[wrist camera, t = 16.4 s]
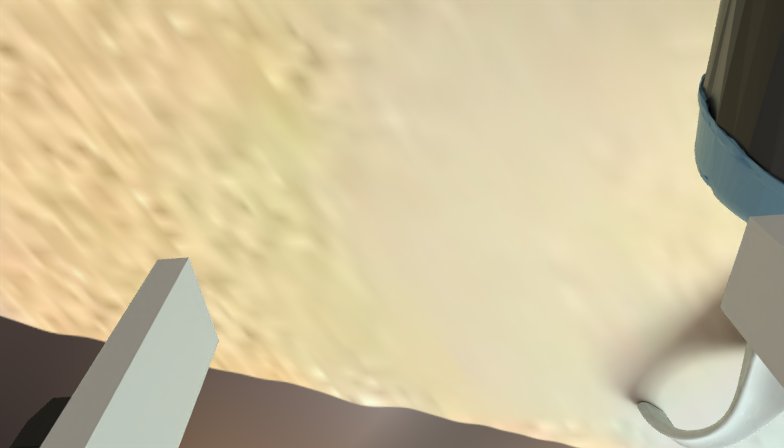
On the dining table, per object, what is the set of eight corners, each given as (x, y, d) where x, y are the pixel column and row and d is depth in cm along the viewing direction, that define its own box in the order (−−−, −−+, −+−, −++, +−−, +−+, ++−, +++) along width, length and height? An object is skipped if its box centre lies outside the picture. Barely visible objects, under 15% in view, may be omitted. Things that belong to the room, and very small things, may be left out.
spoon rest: (812, 249, 48) (873, 301, 42) (879, 306, 52) (944, 361, 46) (613, 391, 58) (639, 449, 52) (681, 429, 62) (712, 488, 56)
